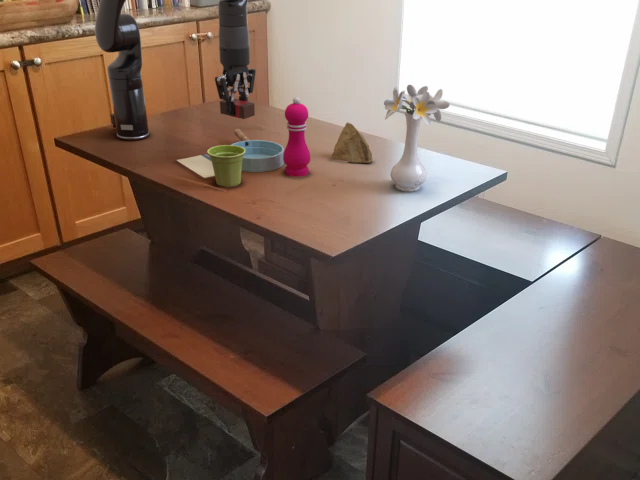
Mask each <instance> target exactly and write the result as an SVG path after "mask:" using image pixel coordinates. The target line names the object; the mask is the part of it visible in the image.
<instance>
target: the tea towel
mask: <svg viewBox="0 0 640 480" xmlns="http://www.w3.org/2000/svg"><path fill="white" fill-rule="evenodd" d="M176 162H178V163H179V164H181V165H183V167H186V168H187V169H189V170H190V171H192V172H193V173H195V174H197V175H198V176H200V177H201V178H203V179H207V178H213V177H215V174H214V169H213V165H212V161H211V159H210V156H209V154H207V153H206V154H200V155H195V156H190V157H186V158H180V159H179V158H178V159H176Z"/></svg>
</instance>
